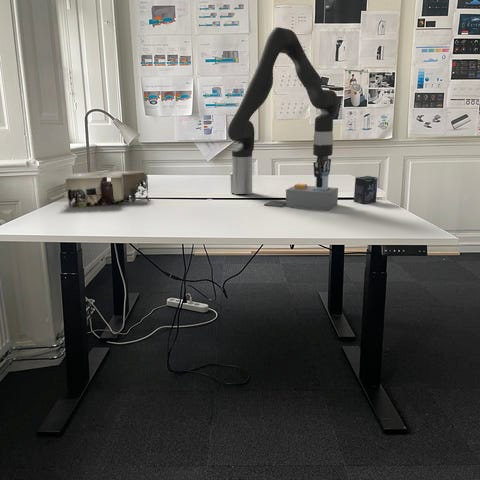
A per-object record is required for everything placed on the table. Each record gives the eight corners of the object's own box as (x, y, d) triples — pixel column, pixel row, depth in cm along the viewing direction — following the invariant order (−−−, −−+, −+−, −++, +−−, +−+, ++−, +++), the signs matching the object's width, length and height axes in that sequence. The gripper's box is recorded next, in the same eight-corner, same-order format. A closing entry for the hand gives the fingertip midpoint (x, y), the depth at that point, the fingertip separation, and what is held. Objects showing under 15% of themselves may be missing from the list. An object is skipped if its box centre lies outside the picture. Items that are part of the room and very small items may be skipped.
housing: (285, 206, 199) (286, 189, 197) (296, 201, 209) (296, 185, 207) (328, 210, 191) (329, 192, 189) (337, 204, 201) (338, 187, 199)
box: (363, 204, 201) (365, 178, 198) (353, 202, 206) (354, 177, 203) (376, 202, 206) (378, 177, 203) (366, 199, 210) (367, 175, 207)
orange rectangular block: (294, 197, 200) (294, 185, 199) (297, 195, 204) (297, 183, 203) (303, 197, 199) (303, 185, 197) (306, 196, 202) (306, 184, 201)
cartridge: (312, 202, 197) (313, 172, 193) (317, 199, 201) (318, 170, 198) (325, 203, 194) (326, 173, 191) (329, 200, 199) (330, 171, 195)
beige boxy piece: (146, 206, 203) (144, 175, 200) (68, 209, 200) (64, 177, 196) (149, 198, 220) (147, 169, 217) (77, 200, 217) (74, 171, 213)
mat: (263, 205, 201) (263, 204, 201) (271, 202, 208) (271, 200, 208) (281, 207, 198) (281, 205, 197) (289, 203, 204) (289, 202, 204)
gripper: (320, 141, 199) (319, 182, 204) (307, 144, 187) (306, 188, 192) (338, 142, 195) (336, 184, 200) (326, 145, 183) (324, 189, 188)
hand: (321, 185), depth 196 cm, fingers closed on cartridge, 5 cm apart
